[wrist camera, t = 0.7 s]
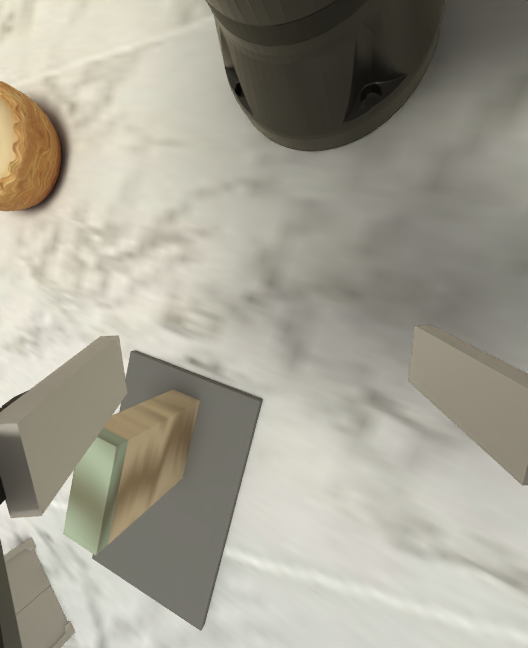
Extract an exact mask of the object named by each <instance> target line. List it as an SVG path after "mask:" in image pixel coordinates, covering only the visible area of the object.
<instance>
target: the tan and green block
mask: <svg viewBox="0 0 528 648" xmlns="http://www.w3.org/2000/svg"><path fill="white" fill-rule="evenodd" d="M199 404H200V400H198V399H195V398H193V397H190V396H188V395H185V394H183V393H181V392H178V391H176V390H170V391H168V392H166V393H163V394H161V395H159V396H156V397H154V398H152V399H149V400H147V401H145V402H142V403H140V404H138V405H135V406H133V407H131V408H128V409H126V410H124V411H121V412H119V413H117V414H114V415H112V416H111V417H110V419H109V420H108V422H107V423H106V424H105V426H104V427H103V429H102V430H101V432H100V433H99V434H98V436H97V437H96V439H95V440H94V442H93V443H92V444H91V446H90V447H89V449H88V450H87V452H86V453H85V454H84V456H83V457H82V459H81V460H80V462H79V463H78V464H77V466H76V467H75V469H74V473H73V479H72V485H71V491H70V497H69V503H68V509H67V515H66V521H65V527H64V533H63V534H64V535H65V536H67V537H68V538H70V539H72V540H73V541H75V542H76V543H78V544H79V545H81V546H82V547H84V548H85V549H87V550H88V551H90V552H91V553H93V554H94V555H97V554H98V553H100V552H101V551H102V550H103V549H104V548H105V547H106V546H107V545H108V544H110V543H111V542H112V541H113V540H114V539H115V538H116V537H117V536H119V535H120V534H121V533H122V532H123V531H124V530H125V529H126V528H128V527H129V526H130V525H131V524H132V523H133V522H134V521H135V520H136V519H138V518H139V517H140V516H141V515H142V514H143V513H144V512H145V511H147V510H148V509H149V508H150V507H151V506H152V505H153V504H154V503H155V502H157V501H158V500H159V499H160V498H161V497H162V496H163V495H164V494H166V493H167V492H168V491H169V490H170V489H171V488H172V487H173V486H174V485H176V484H177V483H178V482H179V481H180V480H181V479H182V478H183V474H184V470H185V465H186V461H187V456H188V452H189V448H190V443H191V439H192V434H193V430H194V426H195V421H196V417H197V412H198V408H199Z"/></svg>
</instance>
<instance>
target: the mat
mask: <svg viewBox="0 0 528 648" xmlns="http://www.w3.org/2000/svg"><path fill="white" fill-rule="evenodd" d="M126 387H127V395H126V396H125V397H124V399H123V400H122V402H121V407H120V412H121V411H124V410H126V409H128V408H131V407H133V406H135V405H138V404H140V403H142V402H145V401H147V400H149V399H152V398H154V397H156V396H159V395H161V394H163V393H166V392H168V391H170V390H176V391H178V392H181V393H183V394H185V395H188V396H190V397H193V398H195V399H198V400H200V404H199V408H198V412H197V417H196V421H195V426H194V430H193V434H192V439H191V443H190V448H189V452H188V456H187V461H186V465H185V470H184V474H183V478H182V479H181V480H180V481H179V482H178V483H177V484H176V485H174V486H173V487H172V488H171V489H170V490H169V491H168V492H167V493H166V494H164V495H163V496H162V497H161V498H160V499H159V500H158V501H157V502H155V503H154V504H153V505H152V506H151V507H150V508H149V509H148V510H147V511H145V512H144V513H143V514H142V515H141V516H140V517H139V518H138V519H136V520H135V521H134V522H133V523H132V524H131V525H130V526H129V527H128V528H126V529H125V530H124V531H123V532H122V533H121V534H120V535H119V536H117V537H116V538H115V539H114V540H113V541H112V542H111V543H110V544H108V545H107V546H106V547H105V548H104V549H103V550H102V551H101V552H100V553H98V554H97V555H94V554H93V557H92V559H94V560H95V561H97V562H98V563H100V564H101V565H103V566H104V567H106V568H107V569H109V570H110V571H112V572H113V573H115V574H116V575H118V576H119V577H121V578H122V579H124V580H125V581H127V582H128V583H130V584H131V585H133V586H134V587H136V588H137V589H139V590H140V591H142V592H143V593H145V594H146V595H148V596H149V597H151V598H152V599H154V600H155V601H157V602H158V603H160V604H161V605H163V606H164V607H166V608H167V609H169V610H170V611H172V612H173V613H175V614H176V615H178V616H179V617H181V618H182V619H184V620H185V621H187V622H188V623H190V624H191V625H193V626H194V627H196V628H197V629H199V630H200V631H201V630H202V628H203V626H204V624H205V620H206V616H207V612H208V608H209V604H210V600H211V597H212V593H213V589H214V585H215V581H216V577H217V573H218V570H219V566H220V562H221V558H222V554H223V550H224V546H225V543H226V539H227V535H228V531H229V527H230V523H231V519H232V516H233V512H234V508H235V504H236V500H237V496H238V492H239V489H240V485H241V481H242V477H243V473H244V469H245V465H246V462H247V458H248V454H249V450H250V446H251V442H252V438H253V435H254V431H255V427H256V423H257V419H258V415H259V411H260V408H261V404H262V400H263V399H260V398H257V397H255V396H252V395H250V394H247V393H244V392H242V391H239V390H237V389H234V388H231V387H229V386H226V385H224V384H221V383H218V382H216V381H213V380H211V379H208V378H205V377H203V376H200V375H197V374H195V373H192V372H190V371H187V370H184V369H182V368H179V367H177V366H174V365H171V364H169V363H166V362H164V361H161V360H158V359H156V358H153V357H151V356H148V355H145V354H143V353H140V352H138V351H131V353H130V358H129V364H128V369H127V374H126Z"/></svg>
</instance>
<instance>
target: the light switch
mask: <svg viewBox="0 0 528 648" xmlns="http://www.w3.org/2000/svg"><path fill="white" fill-rule="evenodd" d="M35 548H36V545H35V543H34V541H33V539H32V538H30V539H28V540H26V541H25V542H23V543H22V544H20V545H19V546H17V547H16V548H14V549H13V550H11V551H10V552H8V553H7V554H5V555H4V560H5V565H6V570H7V575H8V580H9V585H10V590H11V595H12V600H13V604H14V609H15V614H16V619H17V624H18V629H19V634H20V639H21V644H22V648H61V647H62V646H63V645H64V644H65V642H66V641H67V640H68V639H69V638H70V637H71V636H72V635H73V634H74V633H75V630H74V628H73V626H72V624H71V621H69V622H68V621H67V619H66V617H65V615H64V613H63V611H62V608H61V606H60V604H59V602H58V600H57V598H56V595H55V593H54V591H53V589H52V587H51V584H50V582H49V580H48V578H47V576H46V574H45V571H44V569H43V567H42V565H41V563H40V561H39V558H38V556H37V554H36V552H35V550H34V549H35Z"/></svg>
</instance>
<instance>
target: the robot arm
mask: <svg viewBox="0 0 528 648" xmlns="http://www.w3.org/2000/svg"><path fill="white" fill-rule="evenodd" d="M206 1H207V3H208V5H209V6H210V8H211V10H212V12H213V14H214V18H215V23H216V28H217V33H218V37H219V42H220V47H221V51H222V56H223V61H224V66H225V70H226V74H227V78H228V81H229V84H230V87H231V90H232V92H233V94H234V96H235V98H236V100H237V102H238V104H239V105H240V107H241V108H242V110H243V111H244V112H245V114H246V115H247V116H248V118H249V119H250V121H251V122H252V123H253V124H254V126H255V127H256V128H257V129H258V130H259V131H260V132H261V133H262V134H264V135H265V136H266V137H268V138H269V139H271V140H272V141H274V142H276V143H278V144H280V145H283V146H286V147H289V148H293V149H298V150H308V151H315V150H325V149H331V148H335V147H339V146H342V145H345V144H348V143H350V142H353V141H355V140H357V139H359V138H361V137H363V136H365V135H367V134H368V133H370V132H371V131H373V130H375V129H376V128H377V127H379V126H380V125H382V124H383V123H384V122H385V121H386V120H388V119H389V118H390V117H391V116H392V115H393V114H394V113H395V112H396V111H397V110H398V109H399V108H400V107H401V106H402V105H403V104H404V103H405V101H406V100H407V99H408V98H409V97H410V95H411V94H412V93H413V91H414V90H415V88H416V87H417V85H418V84H419V82H420V81H421V79H422V77H423V75H424V73H425V71H426V69H427V67H428V65H429V63H430V61H431V58H432V56H433V53H434V50H435V47H436V43H437V39H438V35H439V30H440V25H441V20H442V16H443V10H444V5H445V0H206ZM408 381H409V382H410V383H411V384H412V385H413V386H414V387H415V388H417V389H418V390H419V391H420V392H421V393H422V394H423V395H424V396H425V397H426V398H427V399H429V400H430V401H431V402H432V403H433V404H434V405H435V406H436V407H437V408H438V409H439V410H441V411H442V412H443V413H444V414H445V415H446V416H447V417H448V418H449V419H450V420H451V421H453V422H454V423H455V424H456V425H457V426H458V427H459V428H460V429H461V430H462V431H464V432H465V433H466V434H467V435H468V436H469V437H470V438H471V439H472V440H473V441H474V442H476V443H477V444H478V445H479V446H480V447H481V448H482V449H483V450H484V451H485V452H486V453H488V454H489V455H490V456H491V457H492V458H493V459H494V460H495V461H496V462H497V463H498V464H500V465H501V466H502V467H503V468H504V469H505V470H506V471H507V472H508V473H509V474H511V475H512V476H513V477H514V478H515V479H516V480H517V481H518V482H519V483H520V484H521V485H528V374H527V373H525V372H523V371H521V370H519V369H517V368H515V367H513V366H511V365H509V364H507V363H505V362H503V361H501V360H499V359H497V358H495V357H493V356H491V355H489V354H487V353H485V352H483V351H481V350H479V349H477V348H475V347H474V346H472V345H470V344H468V343H466V342H464V341H462V340H460V339H458V338H456V337H454V336H452V335H450V334H448V333H446V332H444V331H442V330H440V329H438V328H436V327H434V326H432V325H415V327H414V336H413V344H412V353H411V361H410V370H409V378H408ZM126 395H127V387H126V380H125V373H124V367H123V360H122V353H121V346H120V339H119V336H100V337H99V338H98V339H96V340H95V341H94V342H92V343H91V344H90V345H88V346H87V347H86V348H85V349H83V350H82V351H81V352H79V353H78V354H77V355H75V356H74V357H73V358H71V359H70V360H69V361H67V362H66V363H65V364H63V365H62V366H61V367H59V368H58V369H57V370H55V371H54V372H53V373H51V374H50V375H49V376H47V377H46V378H45V379H43V380H42V381H41V382H39V383H38V384H37V385H36V386H34V387H33V388H32V389H30V390H28V391H26V392H24V393H22V394H20V395H18V396H15V397H14V398H12V399H11V400H10V401H8V402H7V403H5V404H4V405H3V406H2V408H0V505H1V503H2V502H3V501H4V500H6V504H7V507H8V511H9V514H10V517H11V518H17V517H33V516H42V514H43V513H44V511H45V510H46V509H47V507H48V506H49V504H50V503H51V501H52V500H53V499H54V497H55V496H56V494H57V493H58V491H59V490H60V489H61V487H62V486H63V484H64V483H65V481H66V480H67V479H68V477H69V476H70V474H71V473H72V472H73V470H74V469H75V467H76V466H77V464H78V463H79V462H80V460H81V459H82V457H83V456H84V454H85V453H86V452H87V450H88V449H89V447H90V446H91V444H92V443H93V442H94V440H95V439H96V437H97V436H98V434H99V433H100V432H101V430H102V429H103V427H104V426H105V424H106V423H107V422H108V420H109V419H110V417H111V416H112V415H113V413H114V412H115V410H116V409H117V407H118V406H119V405H120V403H121V402H122V400H123V399H124V397H125V396H126ZM0 648H22V644H21V639H20V634H19V629H18V624H17V619H16V614H15V609H14V604H13V600H12V595H11V590H10V585H9V580H8V575H7V570H6V565H5V560H4V555H3V550H2V545H1V541H0Z"/></svg>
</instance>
